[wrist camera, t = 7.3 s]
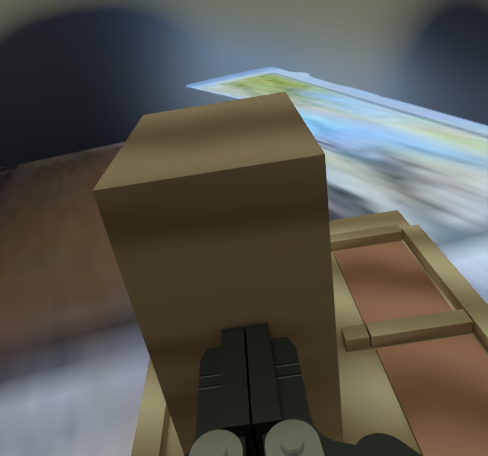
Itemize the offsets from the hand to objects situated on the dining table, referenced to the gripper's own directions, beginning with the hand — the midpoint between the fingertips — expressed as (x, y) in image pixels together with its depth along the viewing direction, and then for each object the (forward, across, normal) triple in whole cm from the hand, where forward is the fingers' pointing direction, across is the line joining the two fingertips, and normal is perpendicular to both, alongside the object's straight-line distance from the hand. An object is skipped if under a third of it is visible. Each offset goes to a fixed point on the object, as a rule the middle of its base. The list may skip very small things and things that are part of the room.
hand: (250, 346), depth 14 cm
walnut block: (+4, 0, -7) cm, 8 cm away
